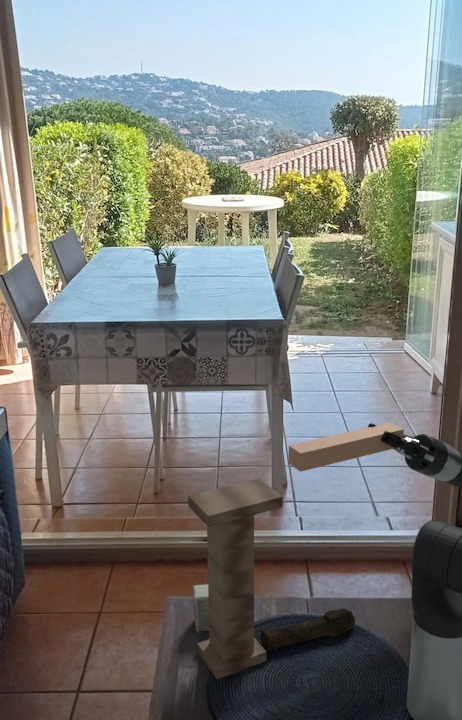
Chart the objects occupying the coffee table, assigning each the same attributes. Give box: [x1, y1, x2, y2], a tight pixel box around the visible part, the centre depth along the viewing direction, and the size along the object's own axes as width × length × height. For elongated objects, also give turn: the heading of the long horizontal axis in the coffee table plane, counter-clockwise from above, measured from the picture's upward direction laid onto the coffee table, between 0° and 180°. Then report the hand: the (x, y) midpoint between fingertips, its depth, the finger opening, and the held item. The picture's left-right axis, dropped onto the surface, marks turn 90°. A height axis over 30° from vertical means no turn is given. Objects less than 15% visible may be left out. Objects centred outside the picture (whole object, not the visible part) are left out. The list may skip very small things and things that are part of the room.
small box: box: [193, 583, 209, 632], centre depth 141 cm, size 5×4×8 cm
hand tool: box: [260, 608, 356, 654], centre depth 137 cm, size 19×4×5 cm, turn 107°
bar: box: [288, 422, 405, 472], centre depth 135 cm, size 23×4×4 cm, turn 118°
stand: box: [187, 478, 284, 680], centre depth 129 cm, size 14×8×32 cm, turn 118°
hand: (376, 432), depth 137 cm, fingers closed on bar, 4 cm apart
